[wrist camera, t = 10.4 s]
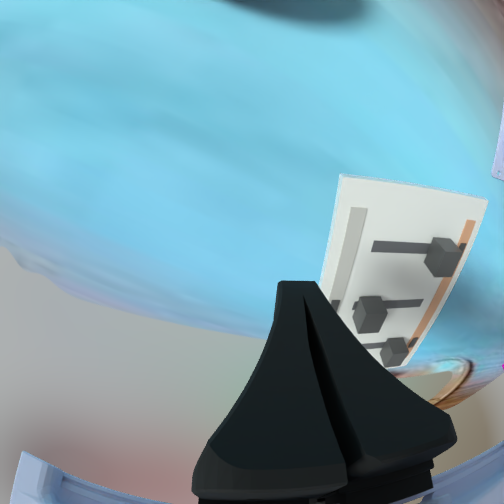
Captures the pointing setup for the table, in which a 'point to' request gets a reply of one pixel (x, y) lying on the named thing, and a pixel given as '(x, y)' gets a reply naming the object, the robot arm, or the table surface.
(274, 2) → the table surface
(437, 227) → the switch panel
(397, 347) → the tab
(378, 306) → the tab
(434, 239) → the tab
